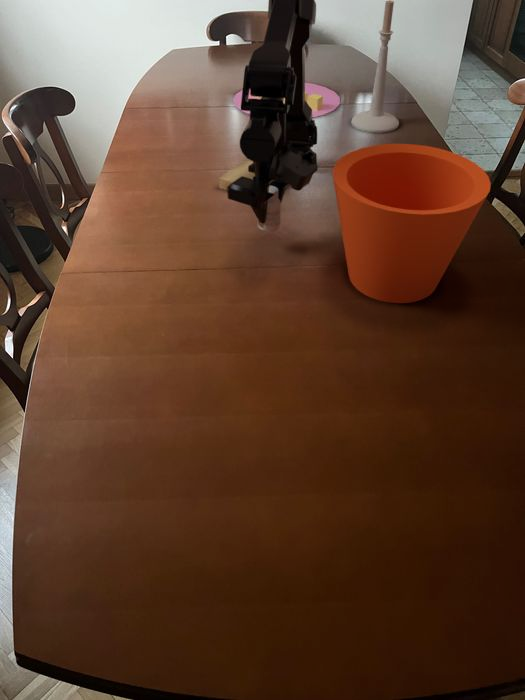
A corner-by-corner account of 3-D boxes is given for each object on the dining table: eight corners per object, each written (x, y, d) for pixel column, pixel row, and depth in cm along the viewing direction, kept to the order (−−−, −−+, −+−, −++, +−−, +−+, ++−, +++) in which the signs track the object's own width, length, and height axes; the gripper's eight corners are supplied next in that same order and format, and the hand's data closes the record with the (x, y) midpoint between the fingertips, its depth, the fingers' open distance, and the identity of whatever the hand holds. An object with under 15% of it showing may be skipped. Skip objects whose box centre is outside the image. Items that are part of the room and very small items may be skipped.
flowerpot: (321, 239, 118) (328, 143, 105) (447, 241, 117) (470, 144, 104) (328, 318, 100) (337, 213, 86) (477, 320, 99) (510, 215, 86)
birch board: (218, 188, 135) (218, 177, 133) (245, 169, 142) (245, 159, 140) (259, 200, 130) (259, 189, 129) (284, 180, 137) (285, 170, 136)
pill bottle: (256, 221, 115) (256, 184, 110) (279, 220, 116) (279, 183, 110) (258, 233, 112) (258, 195, 107) (281, 231, 112) (282, 194, 107)
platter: (307, 128, 160) (307, 116, 157) (211, 106, 173) (211, 94, 170) (358, 93, 180) (359, 81, 177) (269, 75, 192) (269, 64, 190)
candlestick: (403, 118, 165) (422, -4, 144) (391, 135, 156) (409, 7, 136) (359, 112, 169) (372, -9, 148) (345, 128, 160) (356, 2, 140)
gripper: (280, 168, 93) (279, 252, 103) (335, 128, 105) (329, 207, 115) (223, 152, 97) (227, 234, 108) (281, 115, 109) (280, 193, 120)
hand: (268, 217), depth 112 cm, fingers closed on pill bottle, 4 cm apart
